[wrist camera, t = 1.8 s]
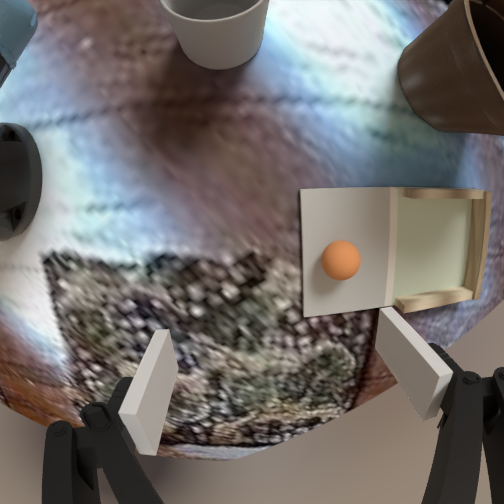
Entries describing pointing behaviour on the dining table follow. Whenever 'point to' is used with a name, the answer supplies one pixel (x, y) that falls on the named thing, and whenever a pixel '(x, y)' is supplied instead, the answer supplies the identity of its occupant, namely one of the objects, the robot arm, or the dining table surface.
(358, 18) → the dining table surface
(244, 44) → the mug
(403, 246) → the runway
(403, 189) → the fence
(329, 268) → the ball
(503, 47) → the plant pot
